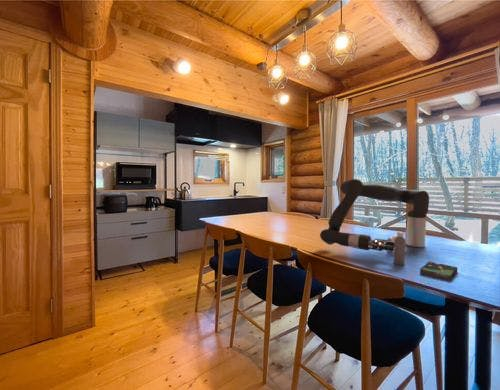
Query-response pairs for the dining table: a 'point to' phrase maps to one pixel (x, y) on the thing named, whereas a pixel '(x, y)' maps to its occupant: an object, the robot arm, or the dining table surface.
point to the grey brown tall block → (399, 249)
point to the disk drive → (439, 271)
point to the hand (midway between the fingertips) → (395, 246)
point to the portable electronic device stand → (394, 241)
